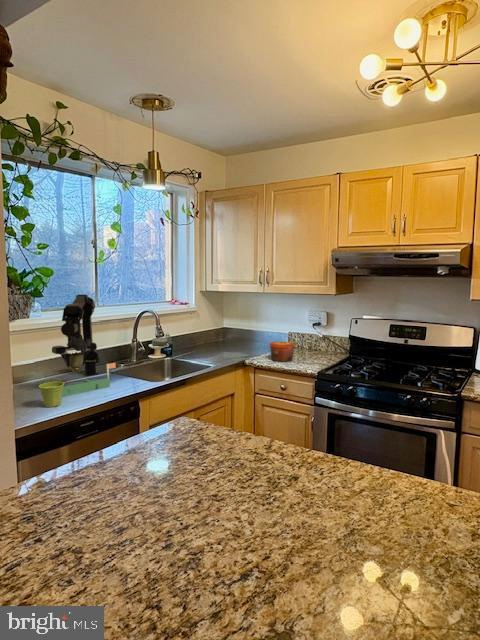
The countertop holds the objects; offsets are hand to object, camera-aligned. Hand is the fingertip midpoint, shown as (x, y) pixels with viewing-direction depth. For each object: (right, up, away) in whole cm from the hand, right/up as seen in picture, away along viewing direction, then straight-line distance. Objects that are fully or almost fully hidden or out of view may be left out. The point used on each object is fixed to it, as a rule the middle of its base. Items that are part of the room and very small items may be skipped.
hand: (75, 366), depth 191 cm
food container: (+102, -4, +67) cm, 122 cm away
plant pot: (-1, -14, -22) cm, 26 cm away
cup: (0, -2, 0) cm, 2 cm away
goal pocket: (+2, -11, +2) cm, 11 cm away
